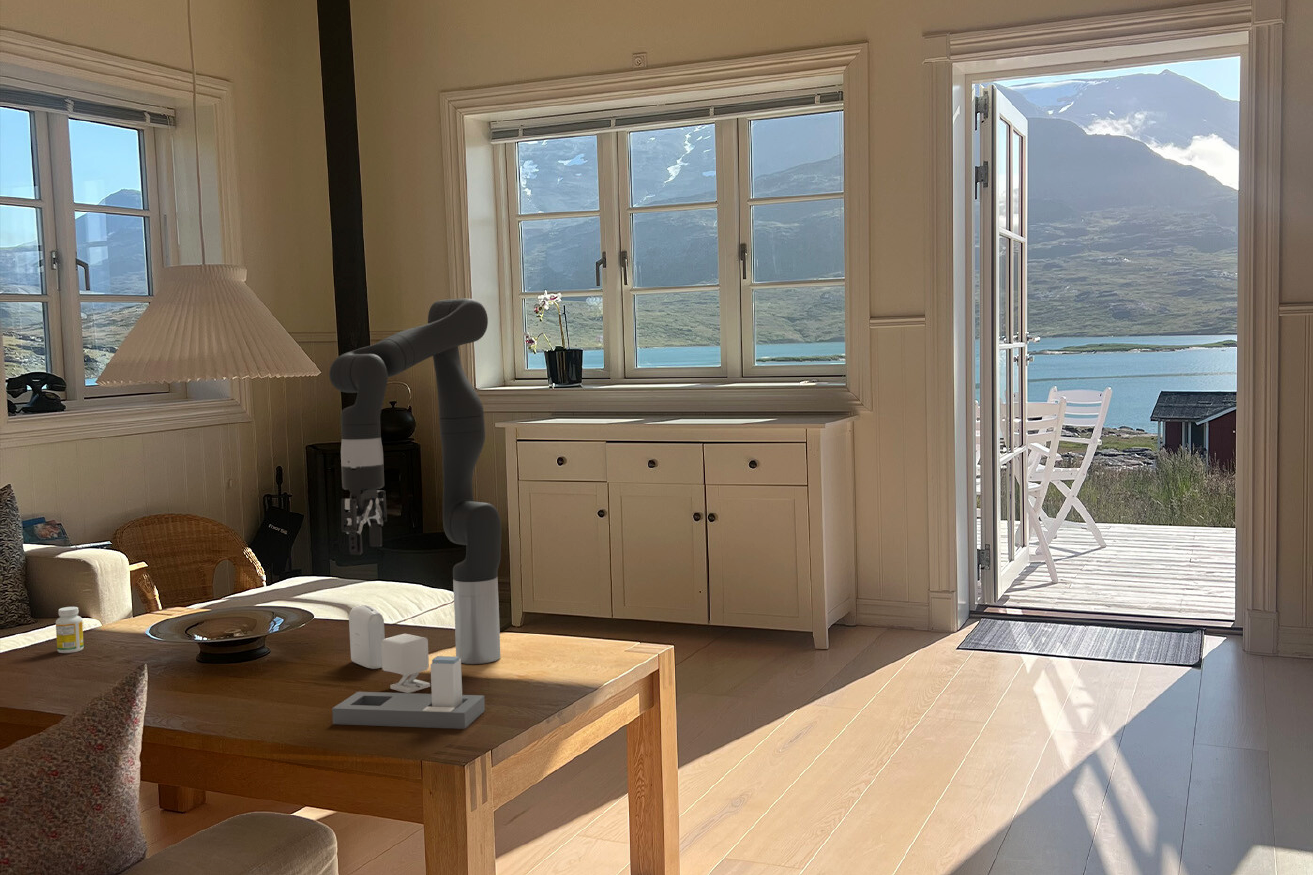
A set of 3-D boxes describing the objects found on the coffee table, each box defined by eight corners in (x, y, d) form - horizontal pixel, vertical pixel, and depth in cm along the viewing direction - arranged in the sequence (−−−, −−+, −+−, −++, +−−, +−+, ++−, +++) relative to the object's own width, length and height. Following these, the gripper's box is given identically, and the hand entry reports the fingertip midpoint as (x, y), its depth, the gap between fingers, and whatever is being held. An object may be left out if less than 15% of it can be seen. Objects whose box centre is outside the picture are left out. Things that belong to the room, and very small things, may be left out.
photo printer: (348, 661, 242) (345, 603, 241) (367, 657, 245) (364, 600, 244) (369, 671, 234) (366, 611, 233) (388, 667, 237) (386, 608, 236)
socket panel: (358, 709, 208) (357, 690, 207) (484, 713, 203) (484, 694, 203) (333, 727, 198) (332, 707, 198) (465, 732, 193) (464, 711, 193)
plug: (441, 714, 202) (439, 654, 201) (463, 715, 201) (460, 655, 200) (432, 721, 198) (430, 660, 197) (454, 722, 197) (452, 661, 196)
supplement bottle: (67, 654, 255) (64, 611, 254) (52, 652, 257) (49, 610, 256) (89, 648, 259) (86, 606, 259) (73, 646, 262) (71, 605, 261)
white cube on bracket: (409, 683, 224) (407, 632, 224) (432, 688, 220) (430, 637, 219) (383, 690, 219) (380, 639, 219) (406, 696, 215) (404, 644, 214)
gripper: (360, 459, 218) (364, 544, 219) (325, 466, 204) (329, 557, 205) (397, 459, 217) (400, 544, 218) (364, 466, 203) (368, 557, 204)
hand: (366, 550), depth 212 cm, fingers open, 8 cm apart
